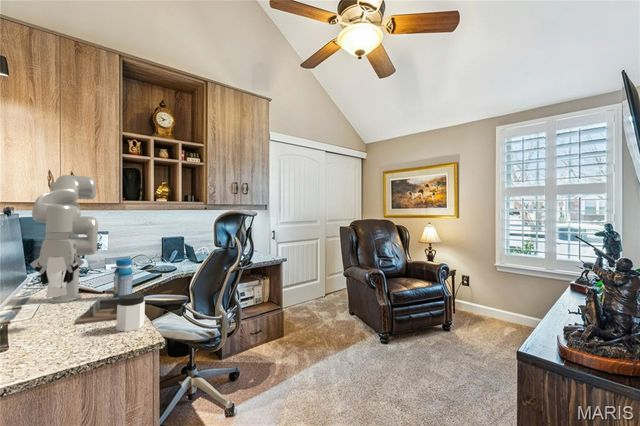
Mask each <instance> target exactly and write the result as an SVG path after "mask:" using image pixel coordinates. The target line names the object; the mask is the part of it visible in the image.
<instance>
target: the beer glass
mask: <svg viewBox="0 0 640 426" xmlns="http://www.w3.org/2000/svg"><path fill="white" fill-rule="evenodd" d="M45 271H46V278H47V283H46V284H47V291H46V294H45V297H47V298H53V297H59V296H63V295H66V294H67V288H66V284H67V273H68V269H67V266H66V265H65V261H64V257H48V260H47V264H46V270H45Z"/></svg>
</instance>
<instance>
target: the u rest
mask: <svg viewBox="0 0 640 426" xmlns="http://www.w3.org/2000/svg"><path fill="white" fill-rule="evenodd" d="M118 301H119V299H114V298H111V299H110V298H109V299H98V300H96V301H95V302H93V304H92V305H91V306H89V308H88V309H87V310H86V312H84V313H83V314H82V315H81V316H80V317H79V318H78V319H76V321H75V322H74V323H75V325H81V324H89V323H101V322H108V321H117V305H119V302H118Z"/></svg>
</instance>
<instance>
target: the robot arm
mask: <svg viewBox="0 0 640 426" xmlns="http://www.w3.org/2000/svg"><path fill="white" fill-rule="evenodd" d="M97 189H98V188H97V183H96V181H95V179H94V178H92V177H91V176H82V175H72V174H65V175H64V174H63V175H60V176H58V177H57V178H56V180H55V181H54V182H52V183H51V185H50V191H49V192H46V193H43V194H41V195H39V196H38V197H37V198H36V199H35V201H34V204H33V208H32V210H31V211H32V212H31V217H32V219H33V220H34V221H35V222H37V223H44V224H45V239H43V241H42V243H41V247H40V251H39V257H37V258H36V259H34V260H33V261H32V262H31V263H29V266H31V268H33V269H34V270H35V271H37V272H38V274H40V282H41V285H46V284H48V283H47V278H46V271H45V270H46V264H47V260H48V257H64V261H65V265H66V266H67V269H68V273H67V284H66V288H67V294H66V295H63V296H59V297H49V298H48V302H47V303H51V304H60V303H61V304H62V303H69V302H75V301H78V300H81V299H82V297H83V296H82V294H79V277H80V267H81V266H82V265H84V264H85V261H84V260H83V259H82V258H80V257H79V256H91V255H95V254H96V253H97V251H98V237H99V232H98V231H99V222H98V220H97V218H95V217H94V216H90V215H88V216H85V215H84V216H83V215H82V213H81V206H80V204H79V203H78V202H77V201H78V200H93V199H95V198H96V196H97V193H98V192H97V191H98V190H97ZM77 235H85V236H78V237H77Z"/></svg>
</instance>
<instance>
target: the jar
mask: <svg viewBox="0 0 640 426" xmlns="http://www.w3.org/2000/svg"><path fill="white" fill-rule="evenodd" d="M118 302H119V305H117V320H116V326H115V327H116V329H115V330H116V331H118V332H125V333H126V332H131V331H136V330H140V329H141V328H143V326H145V313H146V312H145V311H146V310H145V309H146V308H145V307H146V301H145V294H143V293H132V294H127V295H123V296H120V297H119V301H118Z"/></svg>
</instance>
